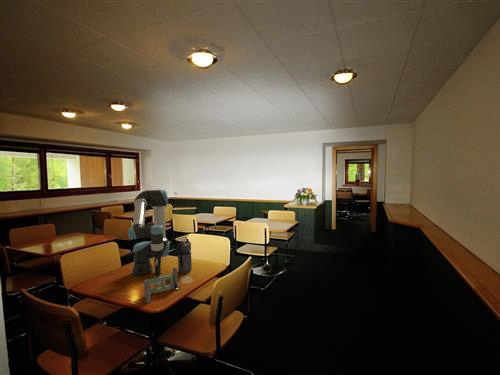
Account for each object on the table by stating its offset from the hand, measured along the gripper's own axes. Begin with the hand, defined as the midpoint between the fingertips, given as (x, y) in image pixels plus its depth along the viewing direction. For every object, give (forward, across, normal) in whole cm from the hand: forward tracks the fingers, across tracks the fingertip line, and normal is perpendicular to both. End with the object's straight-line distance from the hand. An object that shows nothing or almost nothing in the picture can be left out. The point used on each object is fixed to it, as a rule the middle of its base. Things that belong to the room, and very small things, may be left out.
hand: (158, 284), depth 163 cm
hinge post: (+4, +1, +11) cm, 12 cm away
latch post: (+4, +15, -4) cm, 16 cm away
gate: (+3, +4, +1) cm, 5 cm away
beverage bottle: (+4, -29, +16) cm, 33 cm away
